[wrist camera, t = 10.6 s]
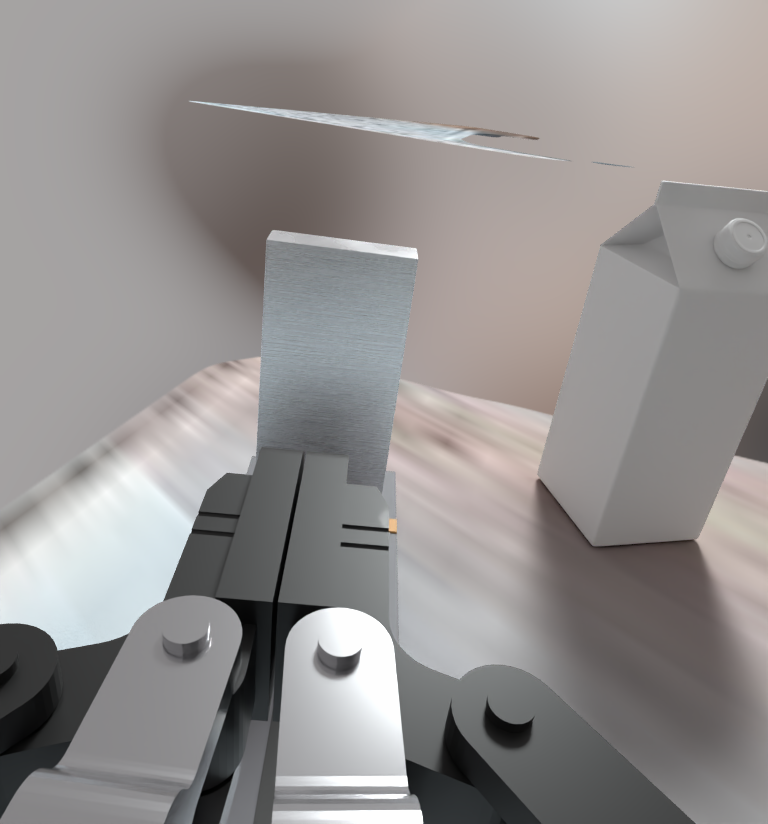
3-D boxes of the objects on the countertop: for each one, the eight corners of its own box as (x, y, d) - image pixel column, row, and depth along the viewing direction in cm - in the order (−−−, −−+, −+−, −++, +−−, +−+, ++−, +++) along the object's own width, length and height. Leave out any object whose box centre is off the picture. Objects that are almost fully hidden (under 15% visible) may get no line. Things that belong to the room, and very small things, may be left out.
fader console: (251, 485, 39) (252, 454, 38) (390, 500, 39) (395, 470, 38) (115, 923, 20) (111, 882, 19) (394, 942, 20) (404, 903, 19)
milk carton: (535, 476, 44) (621, 166, 35) (630, 473, 46) (735, 178, 37) (591, 549, 38) (712, 198, 29) (698, 541, 40) (842, 210, 31)
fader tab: (262, 479, 35) (276, 223, 29) (377, 491, 36) (415, 241, 30) (249, 527, 32) (261, 247, 26) (376, 540, 32) (419, 267, 26)
